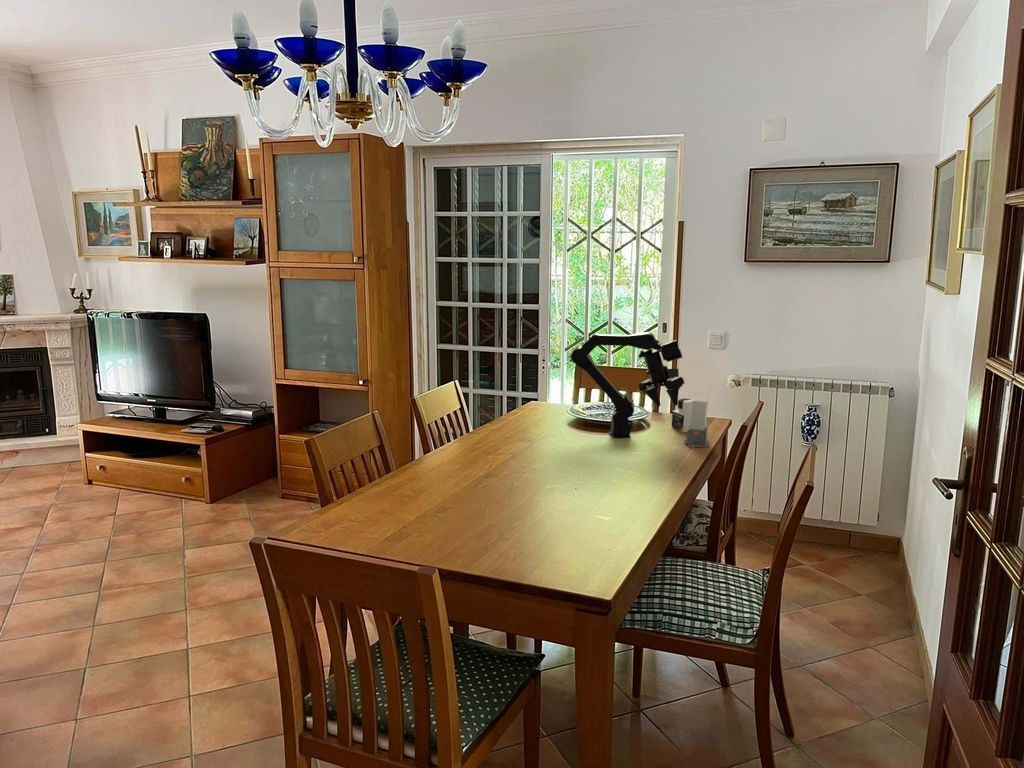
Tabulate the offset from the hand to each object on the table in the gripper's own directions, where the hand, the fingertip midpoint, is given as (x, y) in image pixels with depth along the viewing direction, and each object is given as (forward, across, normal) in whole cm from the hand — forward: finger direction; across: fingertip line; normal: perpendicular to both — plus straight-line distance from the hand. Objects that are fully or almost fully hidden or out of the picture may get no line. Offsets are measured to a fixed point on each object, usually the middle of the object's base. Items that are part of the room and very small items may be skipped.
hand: (667, 405), depth 272 cm
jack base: (+16, -7, -1) cm, 17 cm away
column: (+12, -8, -2) cm, 15 cm away
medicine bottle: (+15, +9, -12) cm, 21 cm away
